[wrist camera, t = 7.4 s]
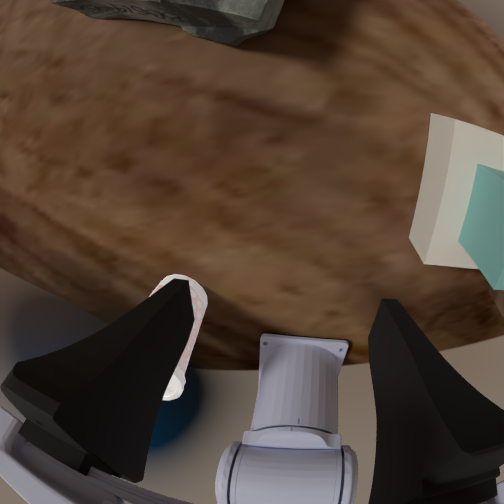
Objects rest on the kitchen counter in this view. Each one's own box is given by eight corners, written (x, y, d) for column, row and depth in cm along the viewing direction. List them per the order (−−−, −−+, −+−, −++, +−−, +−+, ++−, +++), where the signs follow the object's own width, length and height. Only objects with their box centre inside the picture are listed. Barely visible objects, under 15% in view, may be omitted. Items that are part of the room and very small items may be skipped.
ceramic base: (496, 249, 18) (516, 272, 15) (408, 237, 19) (423, 263, 16) (523, 144, 13) (551, 157, 10) (430, 113, 14) (455, 119, 12)
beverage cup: (179, 327, 28) (121, 453, 16) (139, 280, 26) (55, 404, 14) (229, 310, 25) (179, 461, 13) (187, 255, 23) (98, 406, 11)
